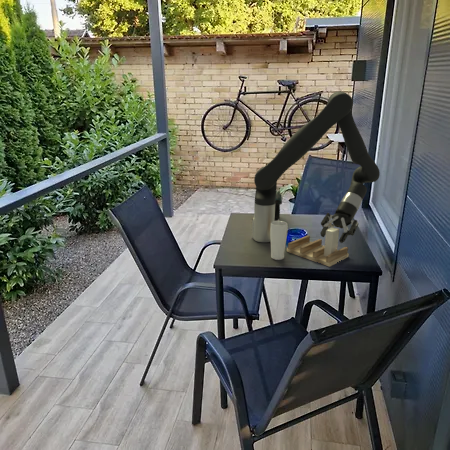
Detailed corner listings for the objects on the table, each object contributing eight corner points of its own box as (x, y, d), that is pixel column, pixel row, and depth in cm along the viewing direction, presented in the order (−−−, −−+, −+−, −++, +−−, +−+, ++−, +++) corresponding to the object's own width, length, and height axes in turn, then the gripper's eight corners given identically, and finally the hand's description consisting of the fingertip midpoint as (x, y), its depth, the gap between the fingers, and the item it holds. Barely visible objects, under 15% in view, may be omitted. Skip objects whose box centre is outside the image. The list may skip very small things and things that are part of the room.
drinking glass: (273, 262, 157) (274, 226, 152) (266, 255, 163) (267, 221, 158) (288, 260, 158) (290, 225, 154) (281, 253, 165) (283, 219, 160)
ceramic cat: (281, 226, 198) (283, 187, 191) (268, 226, 198) (270, 187, 192) (277, 214, 217) (279, 179, 210) (265, 214, 217) (267, 179, 210)
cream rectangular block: (323, 255, 159) (326, 230, 155) (330, 252, 162) (332, 227, 159) (330, 257, 157) (332, 232, 153) (336, 254, 160) (339, 229, 157)
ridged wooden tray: (286, 251, 167) (287, 242, 166) (306, 243, 176) (306, 234, 175) (329, 266, 152) (330, 257, 151) (348, 256, 162) (349, 247, 160)
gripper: (330, 197, 163) (312, 229, 159) (362, 204, 153) (344, 239, 149) (336, 207, 168) (319, 238, 164) (367, 214, 158) (350, 248, 155)
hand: (331, 239), depth 157 cm, fingers open, 8 cm apart
